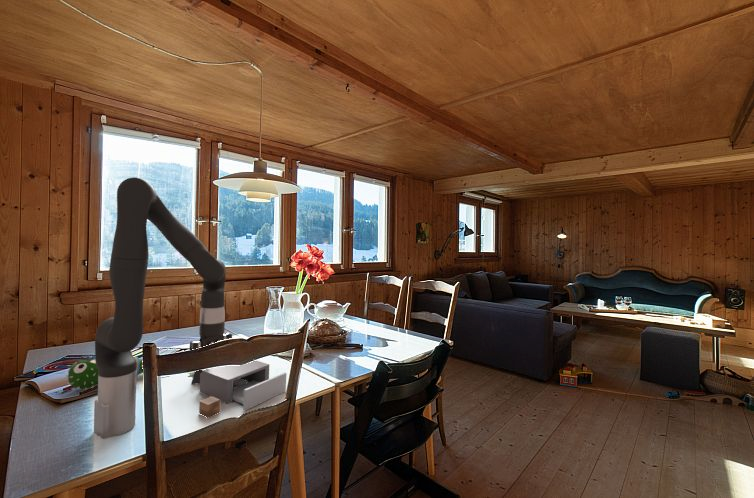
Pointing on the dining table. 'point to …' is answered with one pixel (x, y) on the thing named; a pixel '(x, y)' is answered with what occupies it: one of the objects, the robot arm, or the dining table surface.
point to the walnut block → (209, 406)
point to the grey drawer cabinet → (230, 378)
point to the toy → (89, 373)
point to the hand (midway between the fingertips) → (211, 368)
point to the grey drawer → (259, 391)
